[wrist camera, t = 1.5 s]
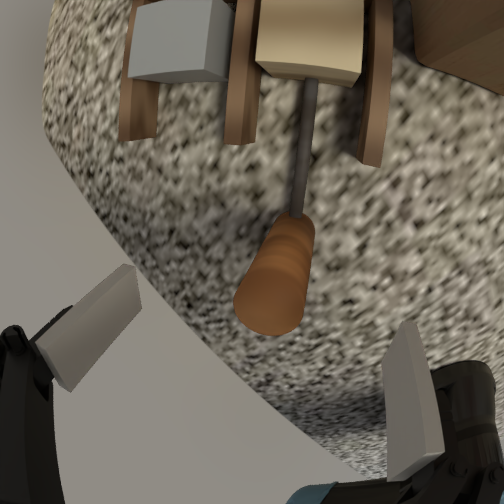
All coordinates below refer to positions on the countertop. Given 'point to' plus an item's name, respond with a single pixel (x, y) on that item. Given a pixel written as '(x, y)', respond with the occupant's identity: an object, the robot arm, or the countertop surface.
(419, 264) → the countertop surface
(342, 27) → the corded block
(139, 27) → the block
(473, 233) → the countertop surface
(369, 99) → the lane rack
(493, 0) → the wooden block
